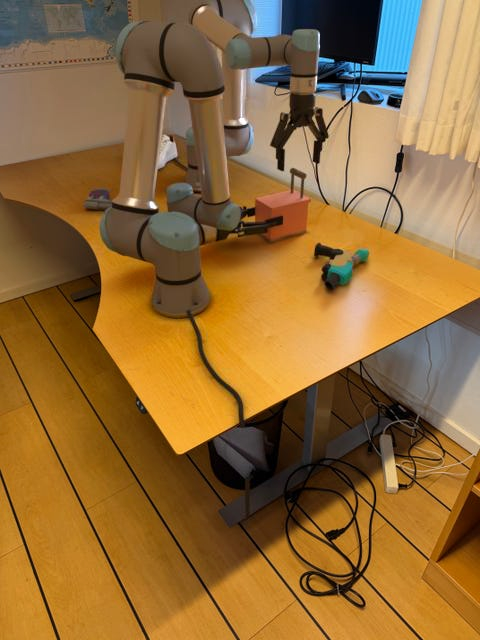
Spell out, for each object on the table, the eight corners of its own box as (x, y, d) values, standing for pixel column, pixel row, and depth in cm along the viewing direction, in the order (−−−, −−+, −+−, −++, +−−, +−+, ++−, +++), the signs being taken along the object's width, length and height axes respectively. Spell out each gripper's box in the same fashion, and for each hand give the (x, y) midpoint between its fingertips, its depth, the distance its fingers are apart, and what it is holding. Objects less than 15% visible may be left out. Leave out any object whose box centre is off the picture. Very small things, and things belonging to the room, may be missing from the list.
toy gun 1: (141, 199, 183) (126, 215, 172) (96, 196, 186) (78, 211, 175) (140, 189, 181) (124, 205, 169) (94, 186, 184) (76, 201, 172)
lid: (293, 192, 160) (294, 165, 154) (310, 201, 153) (313, 173, 147) (255, 201, 154) (255, 173, 148) (271, 211, 147) (272, 182, 141)
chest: (289, 222, 166) (290, 193, 159) (306, 232, 159) (308, 202, 152) (254, 231, 160) (255, 201, 154) (270, 242, 153) (271, 211, 147)
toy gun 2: (291, 271, 128) (345, 285, 123) (324, 234, 147) (372, 245, 141) (290, 285, 131) (343, 299, 125) (322, 247, 150) (369, 258, 144)
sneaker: (133, 173, 208) (129, 144, 201) (161, 153, 230) (158, 127, 223) (155, 175, 205) (151, 146, 198) (180, 155, 227) (178, 129, 220)
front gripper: (197, 227, 155) (255, 213, 164) (230, 255, 139) (292, 238, 148) (195, 205, 151) (255, 192, 160) (229, 232, 135) (294, 215, 144)
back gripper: (273, 99, 129) (271, 176, 141) (345, 89, 139) (337, 162, 151) (259, 95, 134) (258, 169, 147) (328, 85, 144) (322, 156, 157)
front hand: (273, 214), depth 154 cm, fingers closed on chest, 10 cm apart
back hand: (298, 166), depth 149 cm, fingers open, 13 cm apart
